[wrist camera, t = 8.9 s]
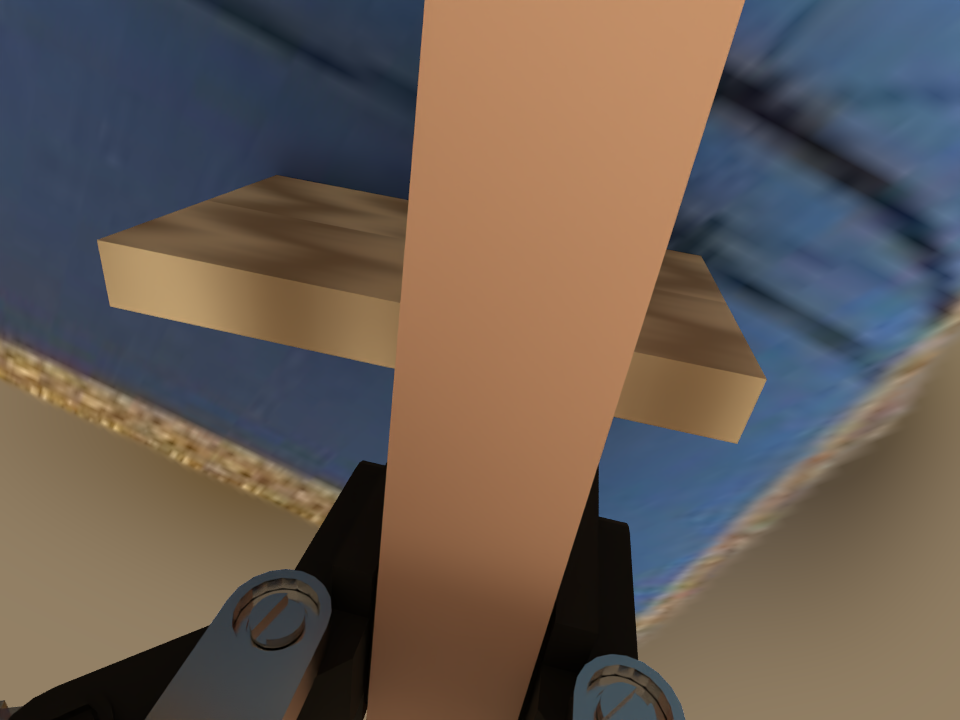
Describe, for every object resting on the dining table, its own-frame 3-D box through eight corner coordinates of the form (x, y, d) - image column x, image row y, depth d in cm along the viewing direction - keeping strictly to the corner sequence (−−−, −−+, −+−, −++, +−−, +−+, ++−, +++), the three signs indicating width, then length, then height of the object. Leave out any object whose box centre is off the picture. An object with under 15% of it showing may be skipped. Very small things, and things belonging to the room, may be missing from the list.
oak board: (278, 221, 25) (110, 306, 16) (276, 175, 24) (97, 239, 15) (685, 301, 24) (736, 443, 15) (701, 256, 23) (766, 379, 14)
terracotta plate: (488, 440, 25) (351, 908, 11) (565, 28, 17) (433, -104, 4) (532, 451, 25) (447, 940, 11) (630, 39, 17) (763, -57, 3)
